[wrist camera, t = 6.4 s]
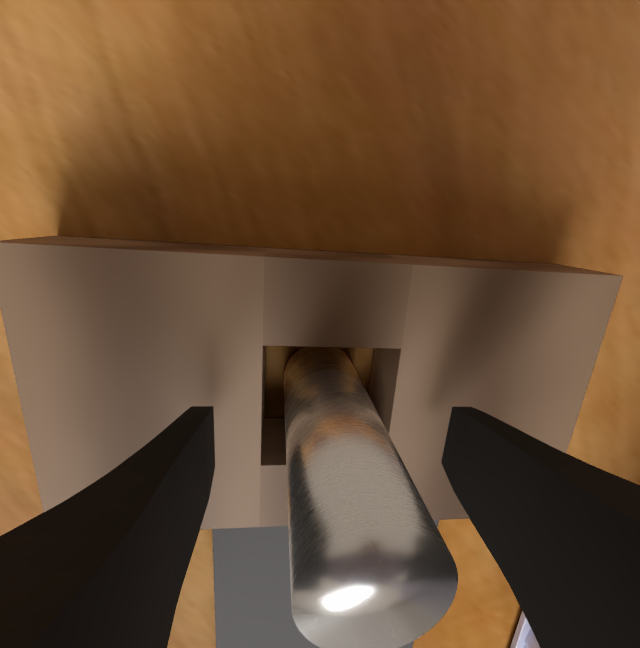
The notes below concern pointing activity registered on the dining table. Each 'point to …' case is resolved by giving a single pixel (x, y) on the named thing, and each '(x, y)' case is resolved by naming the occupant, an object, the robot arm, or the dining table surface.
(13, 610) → the robot arm
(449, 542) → the dining table surface
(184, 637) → the dining table surface
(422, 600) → the peg
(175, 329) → the hole block
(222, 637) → the mat
